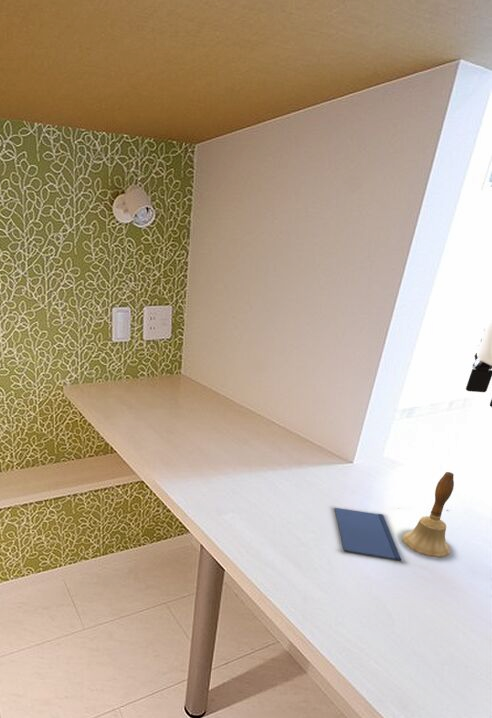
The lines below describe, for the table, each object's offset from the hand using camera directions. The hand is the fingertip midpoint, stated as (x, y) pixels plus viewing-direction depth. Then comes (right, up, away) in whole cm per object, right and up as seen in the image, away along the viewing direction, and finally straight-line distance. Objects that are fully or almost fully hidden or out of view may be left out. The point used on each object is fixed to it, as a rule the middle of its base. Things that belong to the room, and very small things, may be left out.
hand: (487, 398), depth 76 cm
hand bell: (-4, -28, +11) cm, 30 cm away
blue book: (-14, -26, +14) cm, 33 cm away
